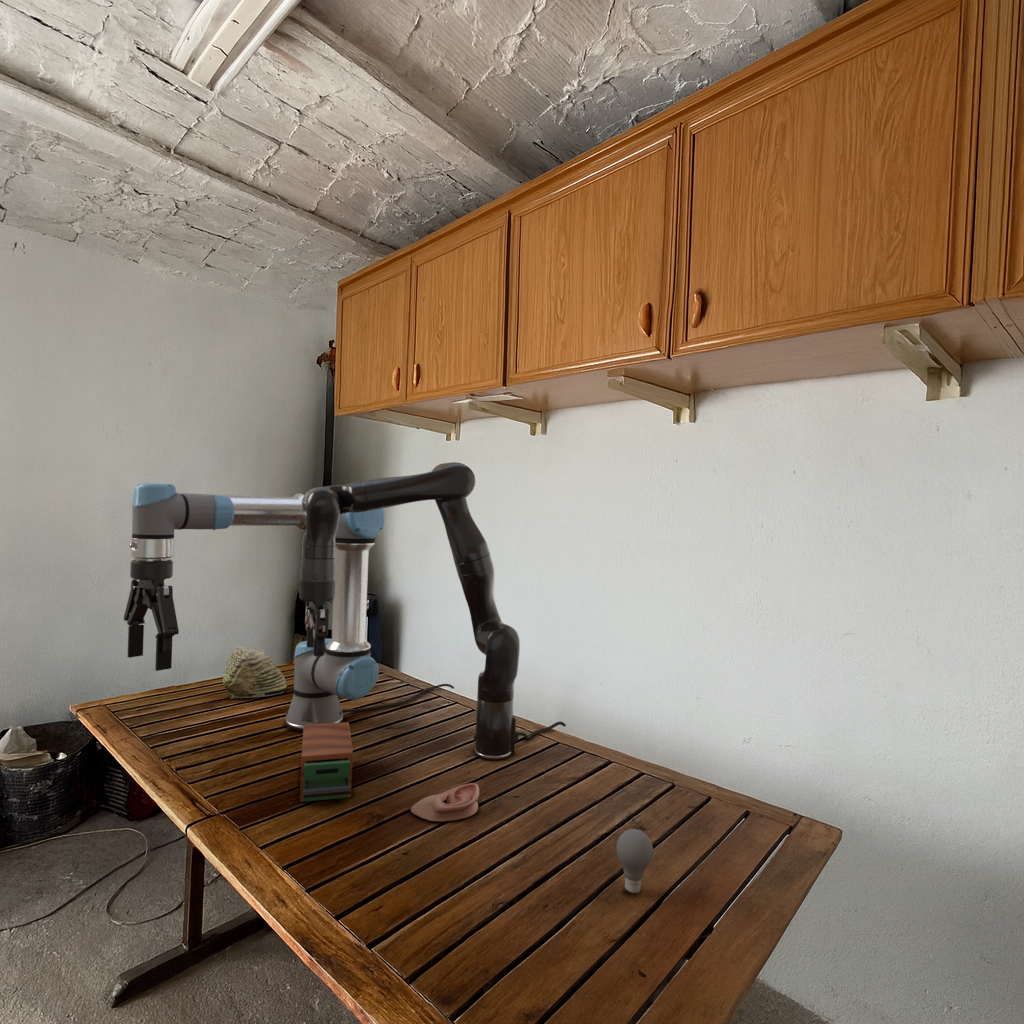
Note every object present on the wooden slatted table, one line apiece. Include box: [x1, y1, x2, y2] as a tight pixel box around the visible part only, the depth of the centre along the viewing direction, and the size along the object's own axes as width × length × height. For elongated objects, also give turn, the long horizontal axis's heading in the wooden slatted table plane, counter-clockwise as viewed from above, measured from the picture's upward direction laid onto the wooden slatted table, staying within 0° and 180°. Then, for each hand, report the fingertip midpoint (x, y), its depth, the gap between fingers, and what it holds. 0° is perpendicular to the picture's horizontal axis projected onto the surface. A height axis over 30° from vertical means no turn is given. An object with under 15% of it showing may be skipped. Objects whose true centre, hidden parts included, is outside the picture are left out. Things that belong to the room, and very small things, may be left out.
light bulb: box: [615, 828, 654, 894], centre depth 106 cm, size 6×6×10 cm
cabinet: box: [299, 721, 354, 803], centre depth 142 cm, size 19×10×10 cm, turn 17°
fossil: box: [222, 646, 288, 699], centre depth 198 cm, size 9×18×15 cm, turn 132°
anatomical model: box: [410, 782, 480, 822], centre depth 131 cm, size 13×4×12 cm
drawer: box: [303, 758, 350, 803], centre depth 136 cm, size 23×9×7 cm, turn 17°
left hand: (148, 662), depth 129 cm, fingers open, 13 cm apart
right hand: (315, 651), depth 139 cm, fingers open, 8 cm apart
